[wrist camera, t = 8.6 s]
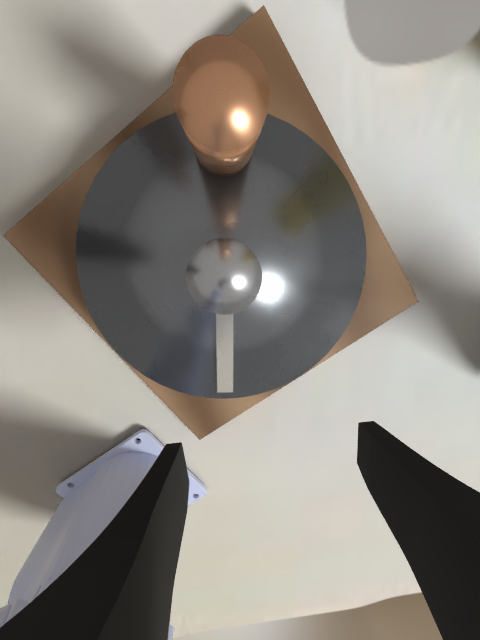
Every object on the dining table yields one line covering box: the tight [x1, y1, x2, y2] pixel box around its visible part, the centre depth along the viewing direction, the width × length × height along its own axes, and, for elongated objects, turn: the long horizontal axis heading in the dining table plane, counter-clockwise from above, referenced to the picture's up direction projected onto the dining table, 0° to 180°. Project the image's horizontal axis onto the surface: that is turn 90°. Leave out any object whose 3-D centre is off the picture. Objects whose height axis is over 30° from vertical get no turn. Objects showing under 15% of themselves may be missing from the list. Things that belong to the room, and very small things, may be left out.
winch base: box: [4, 5, 418, 440], centre depth 18 cm, size 18×18×1 cm
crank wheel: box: [76, 35, 367, 399], centre depth 14 cm, size 16×16×7 cm
